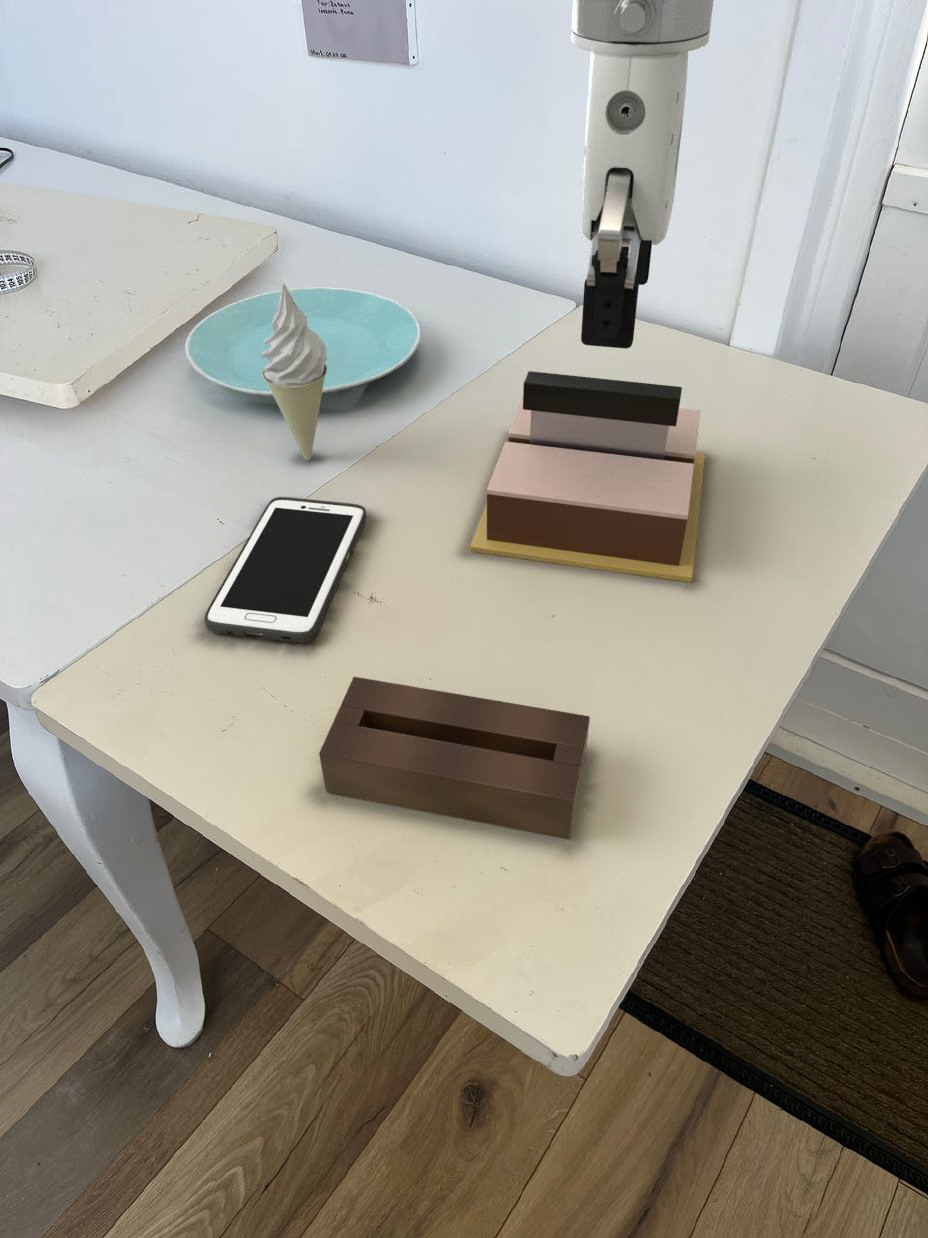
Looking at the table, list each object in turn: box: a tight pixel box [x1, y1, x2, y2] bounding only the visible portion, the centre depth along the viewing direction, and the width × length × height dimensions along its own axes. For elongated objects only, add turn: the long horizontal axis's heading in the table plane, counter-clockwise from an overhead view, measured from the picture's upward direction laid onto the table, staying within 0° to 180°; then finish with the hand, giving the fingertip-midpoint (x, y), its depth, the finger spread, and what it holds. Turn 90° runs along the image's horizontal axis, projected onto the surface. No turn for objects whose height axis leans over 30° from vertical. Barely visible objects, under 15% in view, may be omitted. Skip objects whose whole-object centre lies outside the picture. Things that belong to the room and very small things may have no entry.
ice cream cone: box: [261, 283, 328, 462], centre depth 74 cm, size 5×5×15 cm
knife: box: [522, 370, 683, 460], centre depth 71 cm, size 11×2×10 cm, turn 76°
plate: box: [184, 287, 422, 398], centre depth 91 cm, size 22×22×3 cm
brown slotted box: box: [318, 676, 591, 840], centre depth 54 cm, size 14×6×4 cm, turn 76°
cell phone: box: [203, 496, 367, 644], centre depth 68 cm, size 8×15×1 cm, turn 169°
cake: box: [469, 396, 706, 583], centre depth 72 cm, size 16×16×5 cm
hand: (616, 311), depth 63 cm, fingers open, 9 cm apart
